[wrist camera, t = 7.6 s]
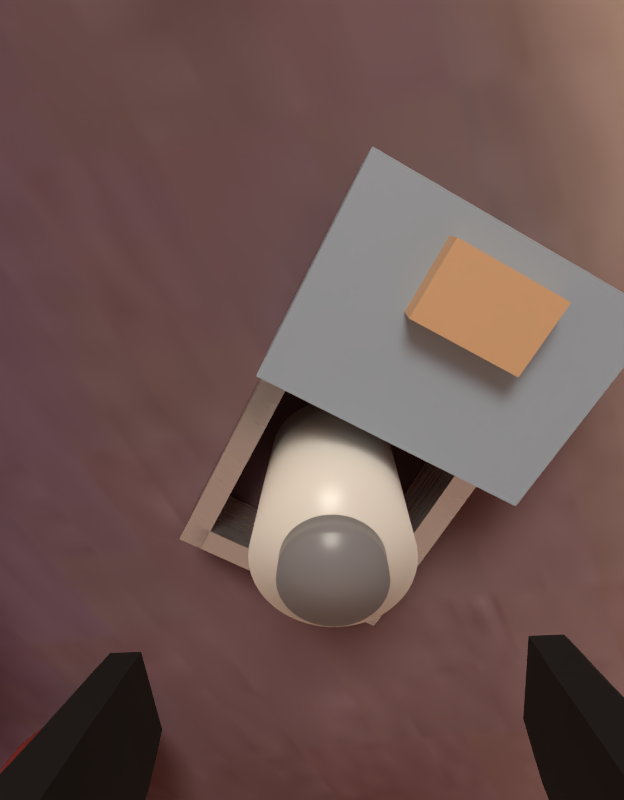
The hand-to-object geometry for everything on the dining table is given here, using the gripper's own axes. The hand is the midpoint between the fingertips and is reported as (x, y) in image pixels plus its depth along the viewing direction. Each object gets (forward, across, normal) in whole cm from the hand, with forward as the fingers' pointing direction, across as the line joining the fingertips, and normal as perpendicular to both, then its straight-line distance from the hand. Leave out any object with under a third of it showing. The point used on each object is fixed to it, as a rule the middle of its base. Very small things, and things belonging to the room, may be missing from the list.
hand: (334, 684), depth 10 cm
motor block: (+10, -3, -5) cm, 11 cm away
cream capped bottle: (+10, 0, 0) cm, 10 cm away
